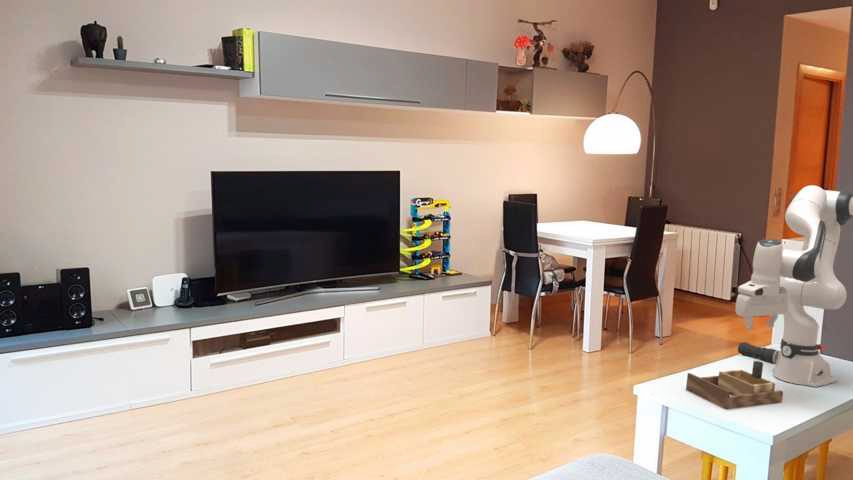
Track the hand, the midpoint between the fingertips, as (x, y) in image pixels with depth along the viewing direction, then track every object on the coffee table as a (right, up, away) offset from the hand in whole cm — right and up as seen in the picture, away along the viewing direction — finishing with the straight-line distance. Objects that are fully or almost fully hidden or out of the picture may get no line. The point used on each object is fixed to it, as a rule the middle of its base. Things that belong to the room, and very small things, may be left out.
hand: (759, 327), depth 238 cm
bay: (-10, -24, -1) cm, 26 cm away
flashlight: (+22, -19, +48) cm, 56 cm away
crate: (-5, -23, 0) cm, 23 cm away
